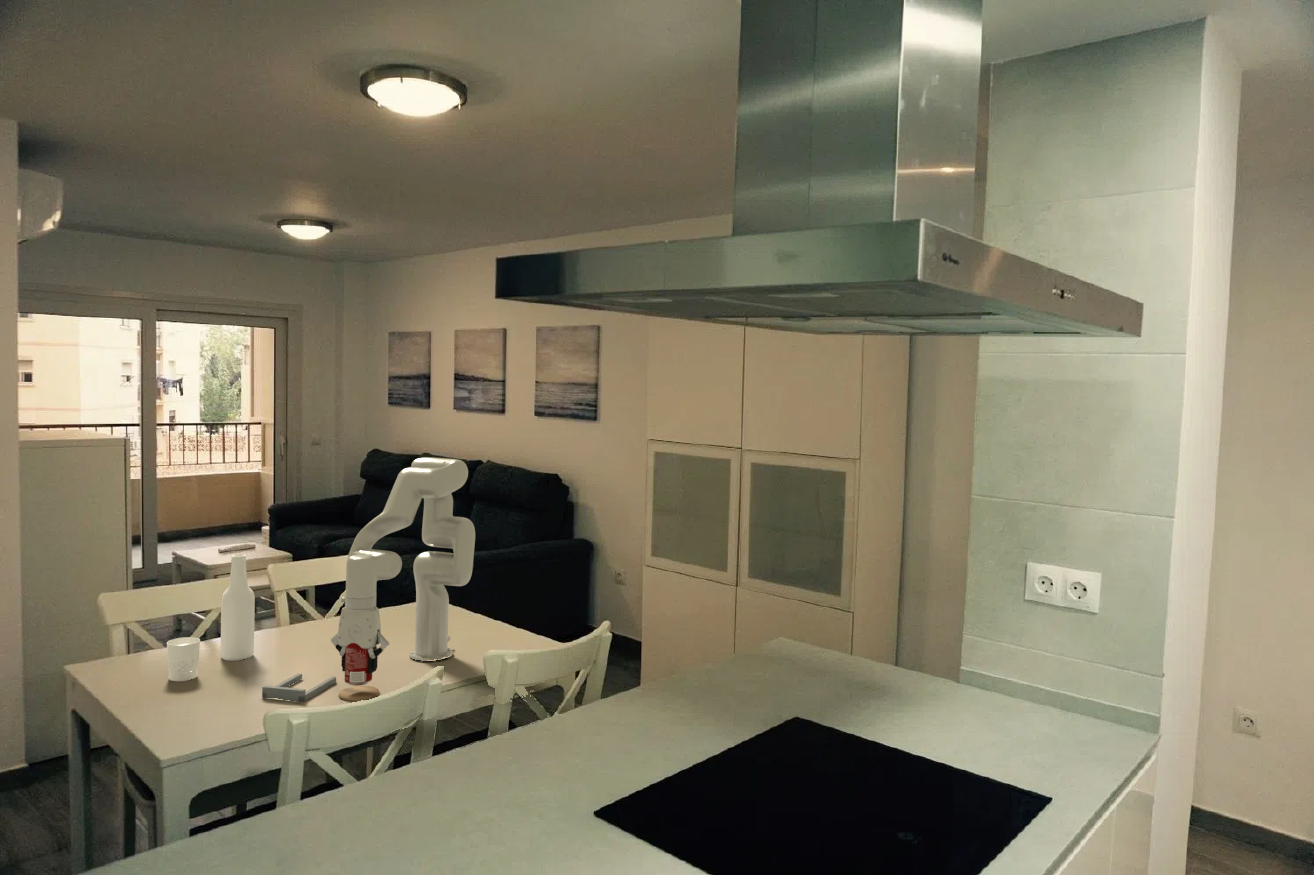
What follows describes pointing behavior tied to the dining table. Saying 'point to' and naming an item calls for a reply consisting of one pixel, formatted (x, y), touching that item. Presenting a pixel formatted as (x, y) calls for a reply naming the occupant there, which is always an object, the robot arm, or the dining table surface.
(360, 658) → the soda can
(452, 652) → the robot arm
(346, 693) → the coaster
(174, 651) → the white cup
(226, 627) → the alcohol
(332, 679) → the u-shaped frame
